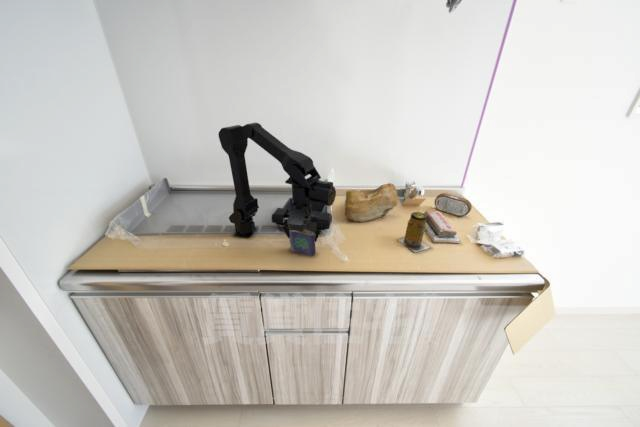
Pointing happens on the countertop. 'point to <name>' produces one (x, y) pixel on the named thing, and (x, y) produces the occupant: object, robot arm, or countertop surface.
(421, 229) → the condiment
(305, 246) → the flask
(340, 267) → the countertop surface
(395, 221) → the countertop surface
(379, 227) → the countertop surface
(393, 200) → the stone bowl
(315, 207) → the bin
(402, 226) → the countertop surface
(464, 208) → the tin
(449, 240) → the packaged product
